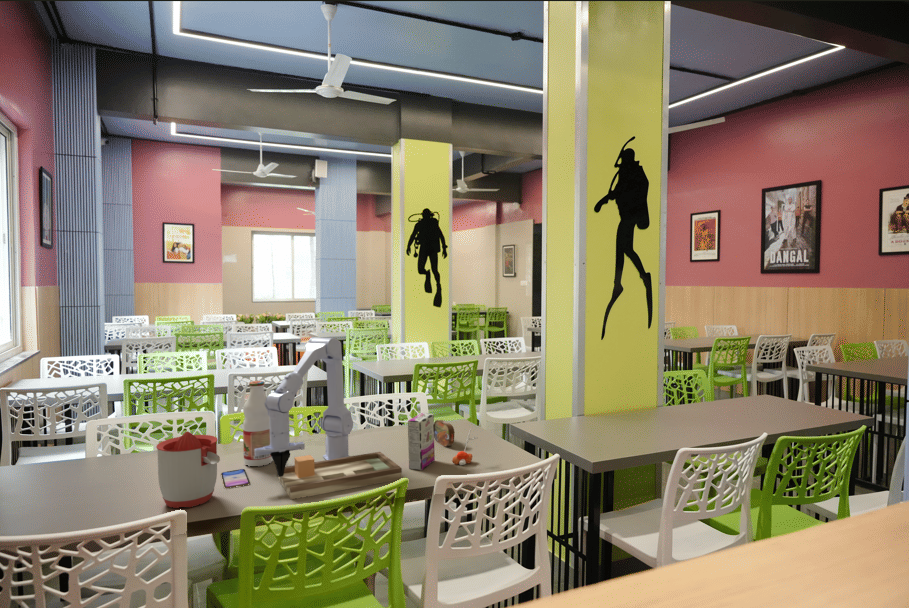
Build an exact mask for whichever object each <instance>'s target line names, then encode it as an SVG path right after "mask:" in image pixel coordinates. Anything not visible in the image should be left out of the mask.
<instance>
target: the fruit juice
mask: <svg viewBox="0 0 909 608" xmlns="http://www.w3.org/2000/svg"><path fill="white" fill-rule="evenodd" d="M248 386H249V394H248V396H247V400H246V401H245V402H244V404H243V405H242V406H243V408H242V412H243V415H244V418H243V419H244V420H243V422H242V437H243V441H242V442H243V445H242V446H243V464H244V465H245V466H246V465H248V466H247V467H250V466H258V467H263V465H264V466H267V465H269V463H270V464H271V463H273V459H272V457H271V455H270V454H266V455H259V456H257V457H256V456H255V450H254V449H256V448H261V447H265V446H269V445H270V421H269V415H268V411H267V409H266V408H265V404H264V403H265V402H266V398H267V397H268V396H267V395H266V393H265V390H264V387H265V381H264V380H254V381H250V382H249V383H248Z"/></svg>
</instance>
